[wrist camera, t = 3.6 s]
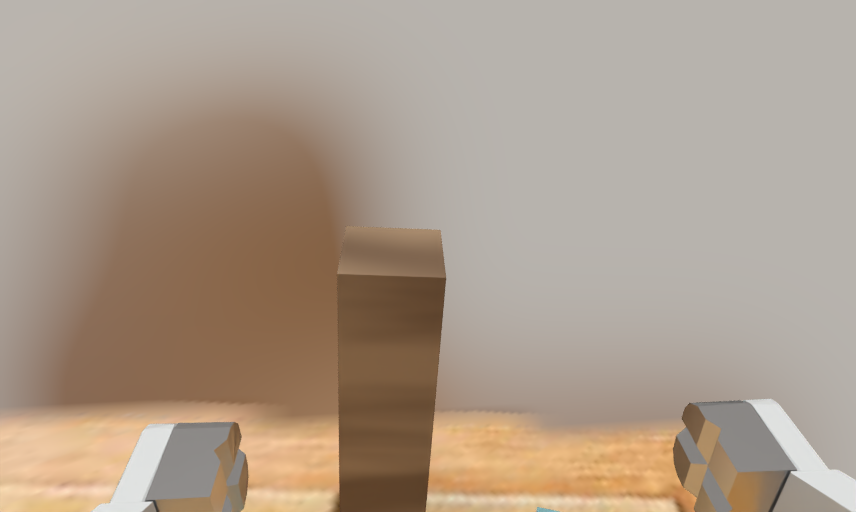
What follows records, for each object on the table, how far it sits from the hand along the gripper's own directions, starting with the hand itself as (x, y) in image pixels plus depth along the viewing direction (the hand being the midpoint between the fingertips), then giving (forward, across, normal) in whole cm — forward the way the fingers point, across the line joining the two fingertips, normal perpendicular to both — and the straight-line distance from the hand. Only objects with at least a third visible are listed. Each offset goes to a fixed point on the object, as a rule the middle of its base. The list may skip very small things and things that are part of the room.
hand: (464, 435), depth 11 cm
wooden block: (+10, -2, -20) cm, 22 cm away
